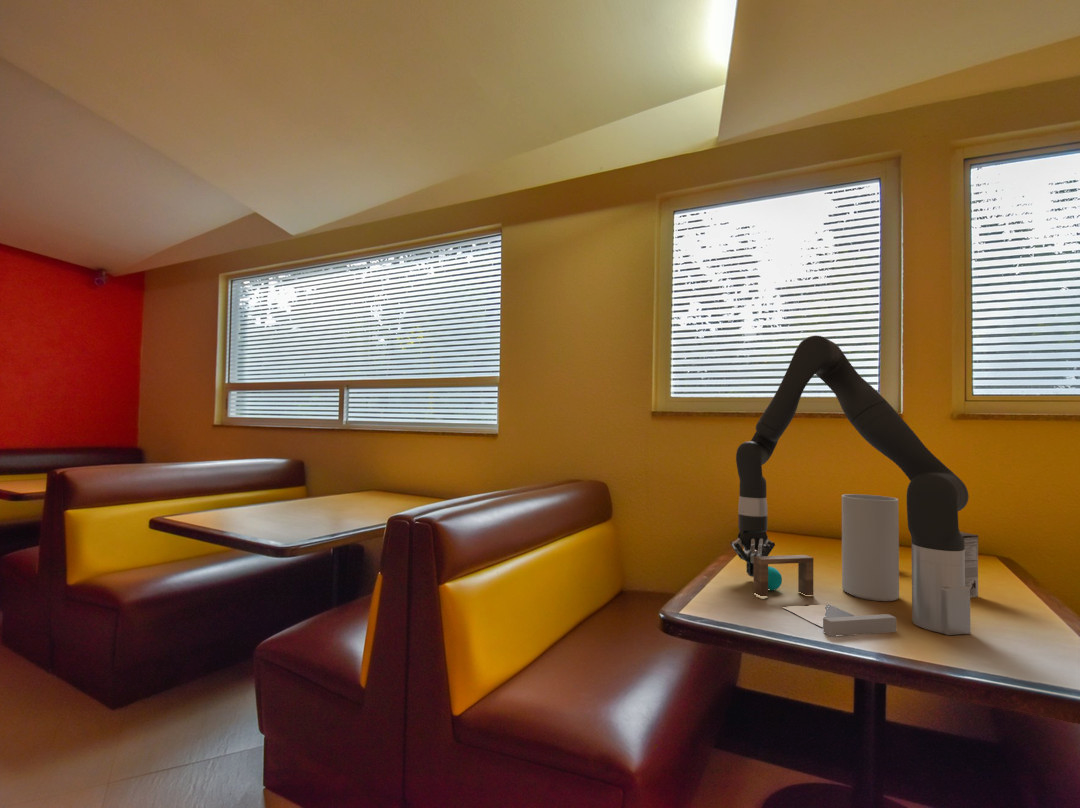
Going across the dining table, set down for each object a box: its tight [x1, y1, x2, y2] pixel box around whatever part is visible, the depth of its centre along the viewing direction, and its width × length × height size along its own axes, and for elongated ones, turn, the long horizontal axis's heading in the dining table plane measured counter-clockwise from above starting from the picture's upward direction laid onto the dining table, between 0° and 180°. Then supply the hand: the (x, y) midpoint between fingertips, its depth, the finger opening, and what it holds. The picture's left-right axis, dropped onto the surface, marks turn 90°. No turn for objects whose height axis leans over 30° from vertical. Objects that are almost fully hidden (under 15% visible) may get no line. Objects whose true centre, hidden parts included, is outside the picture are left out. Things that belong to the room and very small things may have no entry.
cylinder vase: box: [841, 493, 900, 602], centre depth 136 cm, size 12×12×25 cm
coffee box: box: [960, 531, 979, 599], centre depth 139 cm, size 9×6×16 cm
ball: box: [768, 565, 783, 591], centre depth 138 cm, size 6×6×6 cm
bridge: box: [753, 554, 814, 597], centre depth 133 cm, size 3×15×10 cm, turn 102°
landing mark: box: [824, 603, 855, 618], centre depth 119 cm, size 13×13×1 cm
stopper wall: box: [822, 613, 897, 637], centre depth 109 cm, size 2×16×3 cm, turn 102°
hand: (752, 575), depth 145 cm, fingers closed
